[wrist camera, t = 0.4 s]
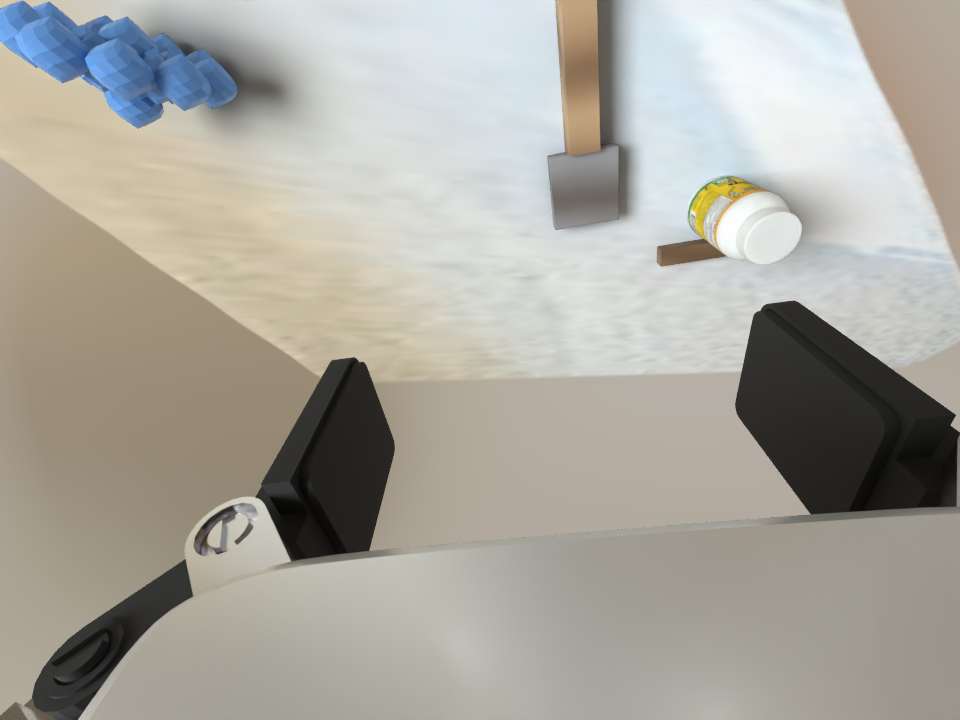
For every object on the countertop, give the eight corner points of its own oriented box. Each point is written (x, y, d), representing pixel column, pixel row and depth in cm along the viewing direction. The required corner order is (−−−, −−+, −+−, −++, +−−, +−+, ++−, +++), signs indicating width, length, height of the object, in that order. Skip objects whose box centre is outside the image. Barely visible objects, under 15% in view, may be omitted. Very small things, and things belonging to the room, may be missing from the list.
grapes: (109, 94, 35) (-41, 102, 25) (97, -8, 32) (-84, -45, 22) (255, 145, 37) (170, 172, 27) (259, 55, 34) (162, 47, 24)
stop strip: (657, 246, 42) (661, 250, 41) (766, 228, 40) (773, 232, 39) (656, 262, 42) (660, 266, 41) (763, 244, 41) (770, 248, 40)
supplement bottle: (672, 222, 40) (718, 259, 32) (708, 164, 37) (768, 189, 29) (720, 242, 41) (776, 283, 33) (759, 187, 38) (830, 217, 30)
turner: (530, -26, 31) (534, -35, 28) (610, -46, 30) (621, -56, 28) (552, 222, 41) (556, 232, 38) (612, 212, 40) (620, 221, 37)
